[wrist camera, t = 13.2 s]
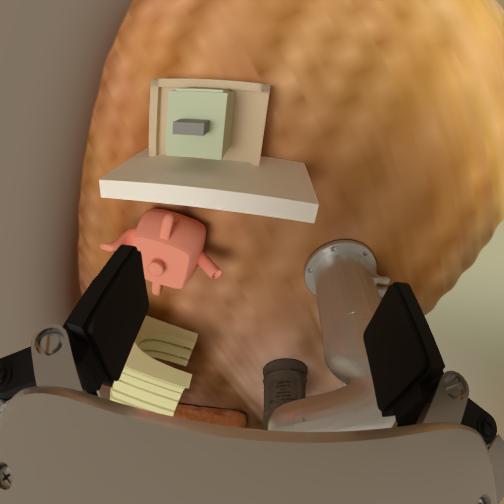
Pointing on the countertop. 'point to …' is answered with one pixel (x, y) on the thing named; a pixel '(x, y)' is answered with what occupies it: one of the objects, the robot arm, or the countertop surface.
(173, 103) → the cabinet box
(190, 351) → the slatted curved stool
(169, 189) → the beige slab with panel
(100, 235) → the countertop surface
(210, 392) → the countertop surface
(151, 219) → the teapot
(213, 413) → the bread
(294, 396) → the beer stein
